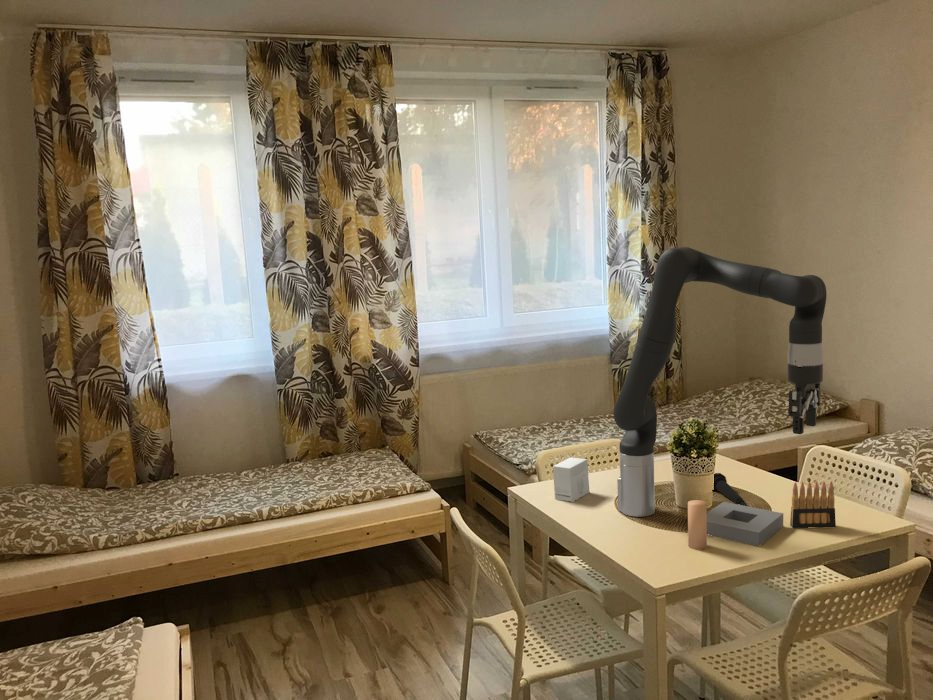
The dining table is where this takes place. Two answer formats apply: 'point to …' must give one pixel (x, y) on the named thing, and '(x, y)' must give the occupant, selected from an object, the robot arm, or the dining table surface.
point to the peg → (697, 524)
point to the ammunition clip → (813, 507)
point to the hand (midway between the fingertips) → (804, 429)
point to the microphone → (726, 489)
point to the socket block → (743, 523)
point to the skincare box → (571, 479)
